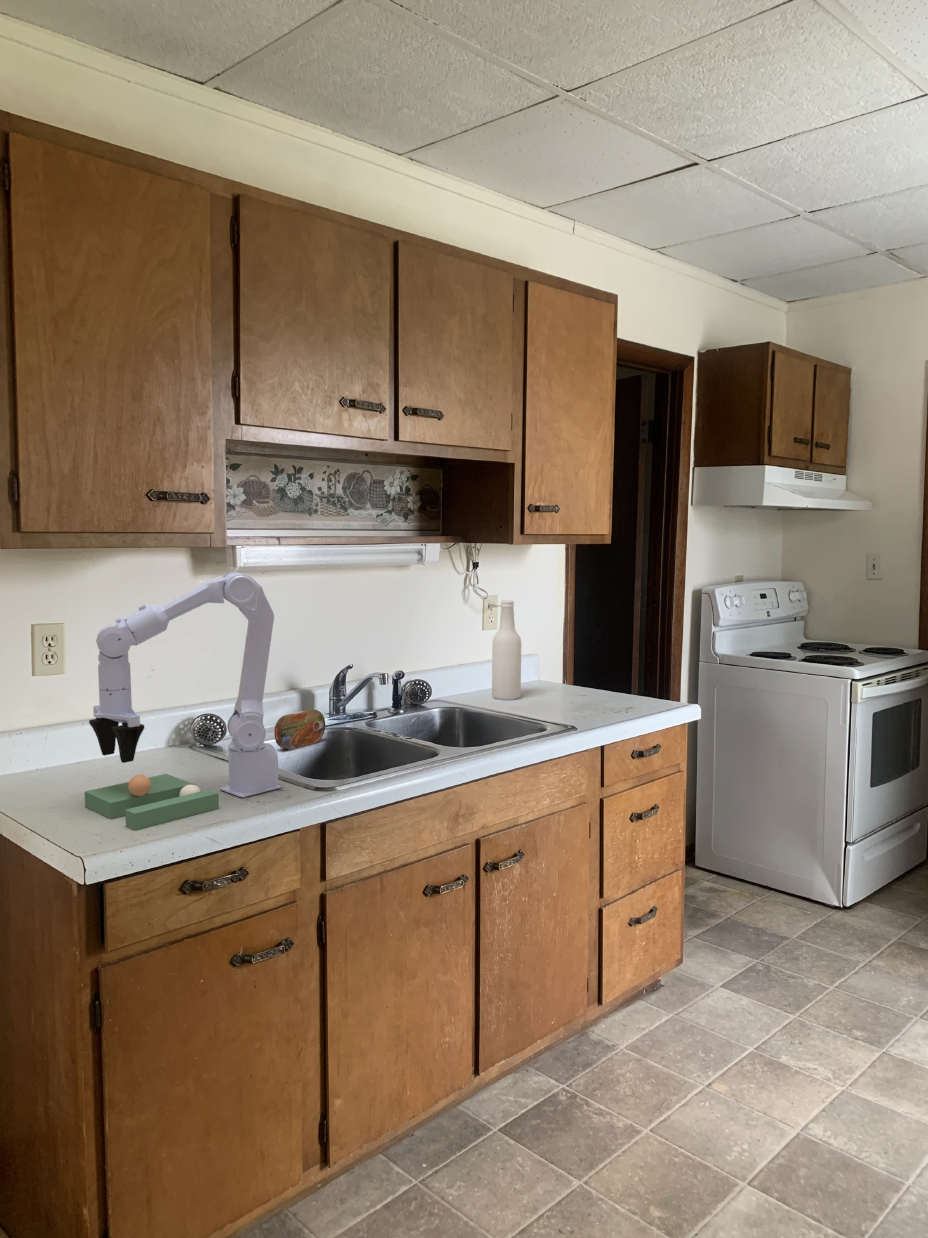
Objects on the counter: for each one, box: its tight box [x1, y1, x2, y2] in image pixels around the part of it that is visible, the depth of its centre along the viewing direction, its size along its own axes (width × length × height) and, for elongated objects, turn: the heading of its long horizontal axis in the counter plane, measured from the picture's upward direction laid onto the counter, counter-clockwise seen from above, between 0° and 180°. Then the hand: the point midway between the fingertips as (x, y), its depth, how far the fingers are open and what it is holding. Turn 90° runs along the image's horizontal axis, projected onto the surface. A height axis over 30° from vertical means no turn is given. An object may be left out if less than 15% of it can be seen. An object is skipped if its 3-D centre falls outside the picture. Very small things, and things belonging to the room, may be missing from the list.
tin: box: [274, 709, 326, 751], centre depth 224 cm, size 15×3×8 cm, turn 144°
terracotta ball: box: [128, 774, 151, 796], centre depth 173 cm, size 4×4×4 cm
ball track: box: [84, 773, 220, 831], centre depth 176 cm, size 17×19×3 cm
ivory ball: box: [179, 784, 201, 797], centre depth 177 cm, size 4×4×4 cm
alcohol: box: [491, 599, 522, 701], centre depth 284 cm, size 9×9×30 cm
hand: (117, 758), depth 178 cm, fingers open, 7 cm apart
